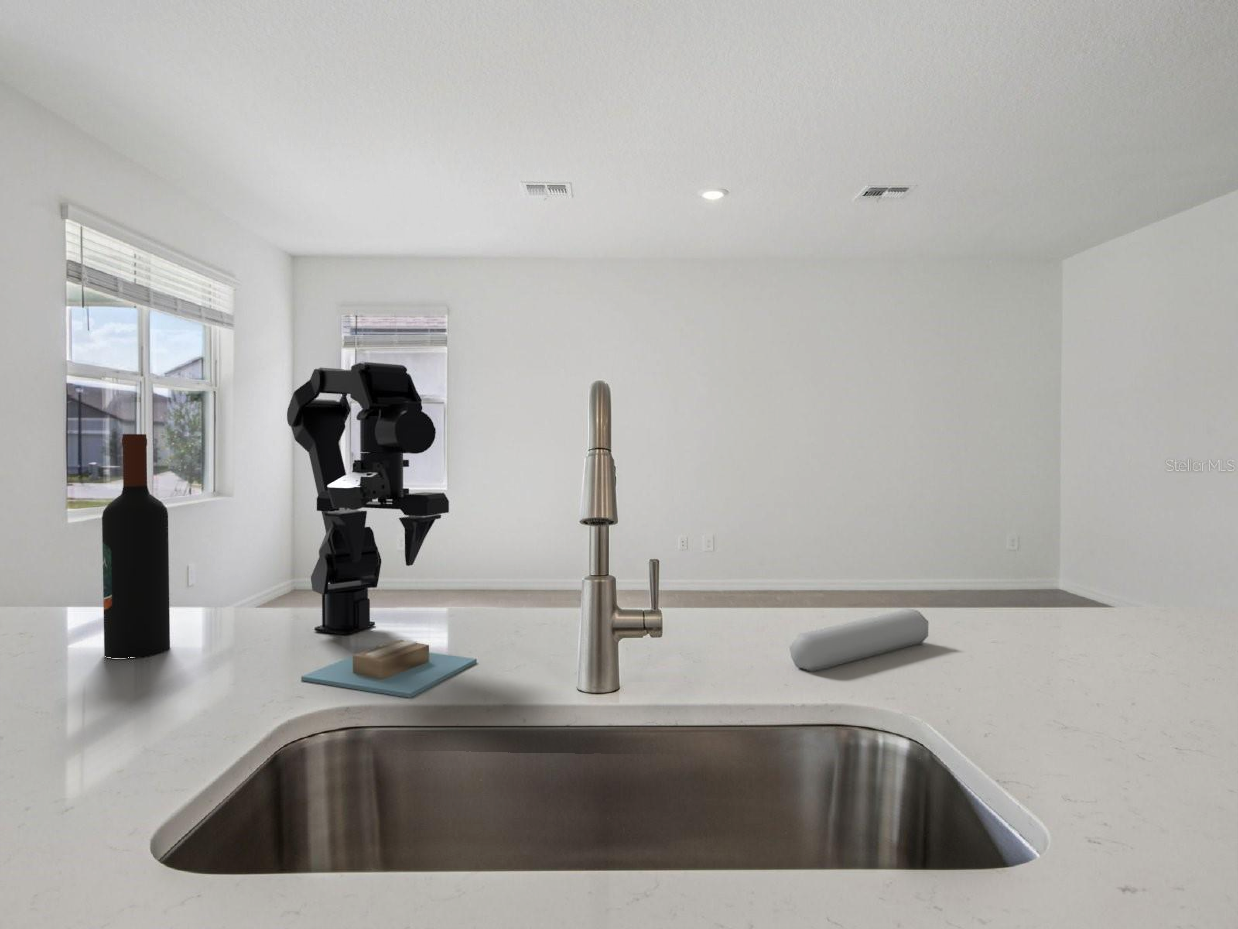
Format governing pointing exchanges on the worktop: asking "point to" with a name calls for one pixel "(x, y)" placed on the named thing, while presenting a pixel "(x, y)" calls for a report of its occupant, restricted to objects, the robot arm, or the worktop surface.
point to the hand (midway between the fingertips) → (382, 563)
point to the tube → (858, 639)
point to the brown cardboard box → (390, 659)
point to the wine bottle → (135, 563)
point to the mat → (397, 684)
